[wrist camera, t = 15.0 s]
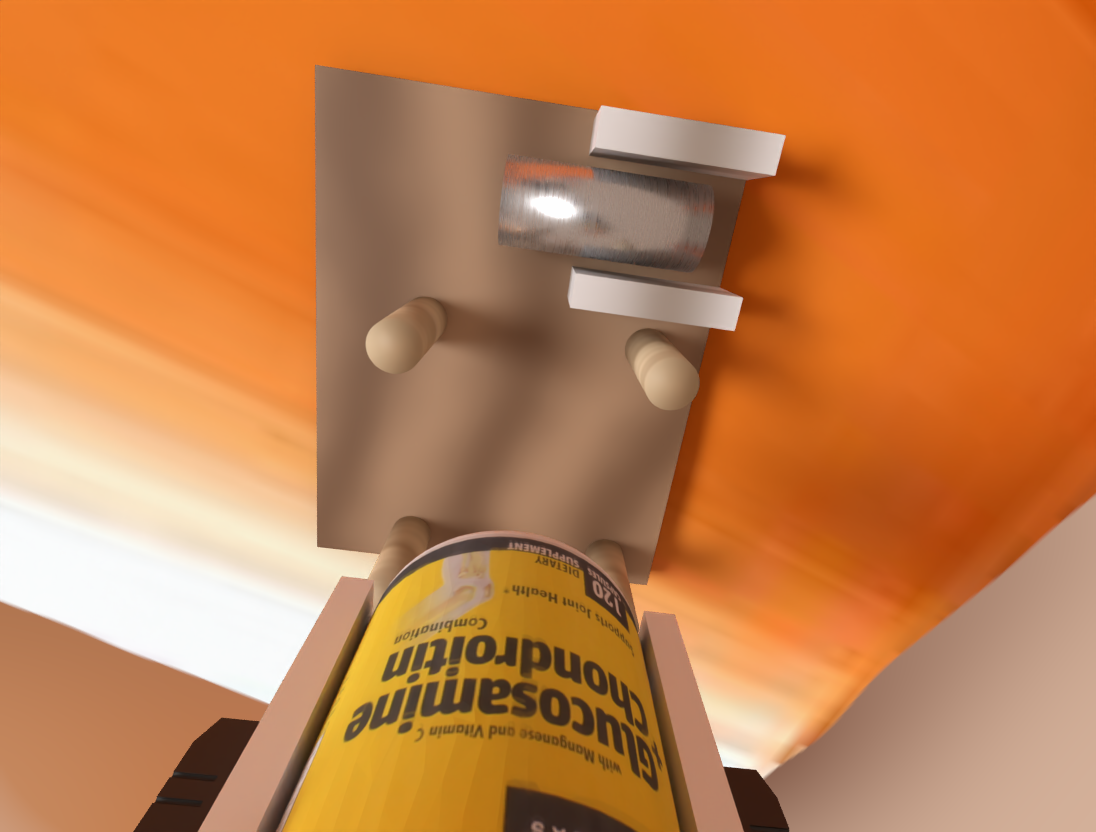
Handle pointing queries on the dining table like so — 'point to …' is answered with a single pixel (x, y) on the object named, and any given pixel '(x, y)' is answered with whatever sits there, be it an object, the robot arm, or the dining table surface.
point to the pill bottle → (492, 703)
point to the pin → (604, 214)
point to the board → (501, 326)
